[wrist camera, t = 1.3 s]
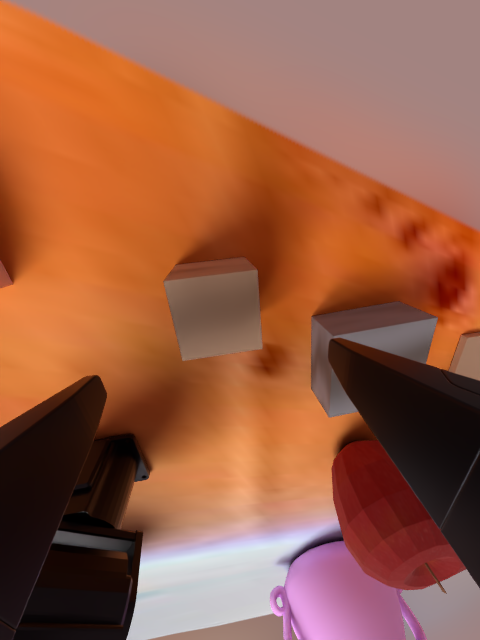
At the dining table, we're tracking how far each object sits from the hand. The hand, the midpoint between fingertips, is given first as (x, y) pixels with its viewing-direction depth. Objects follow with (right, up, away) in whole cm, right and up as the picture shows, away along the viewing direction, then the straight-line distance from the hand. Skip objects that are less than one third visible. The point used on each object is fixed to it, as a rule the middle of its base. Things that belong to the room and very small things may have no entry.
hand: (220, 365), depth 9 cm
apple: (+15, -14, +19) cm, 28 cm away
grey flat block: (+11, -1, +13) cm, 17 cm away
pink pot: (+16, -42, +31) cm, 54 cm away
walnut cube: (-1, +4, +9) cm, 10 cm away
